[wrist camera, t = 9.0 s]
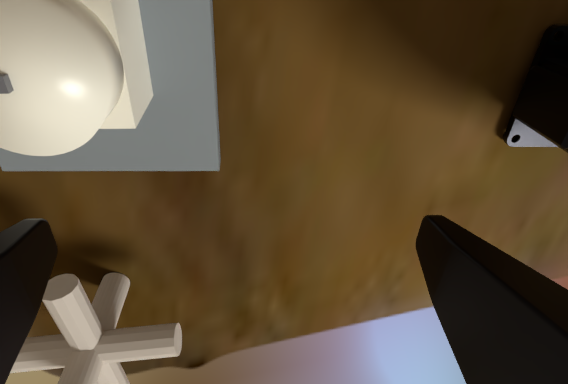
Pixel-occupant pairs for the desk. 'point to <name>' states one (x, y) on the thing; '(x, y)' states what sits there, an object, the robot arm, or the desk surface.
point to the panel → (158, 103)
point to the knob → (69, 72)
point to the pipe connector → (93, 334)
